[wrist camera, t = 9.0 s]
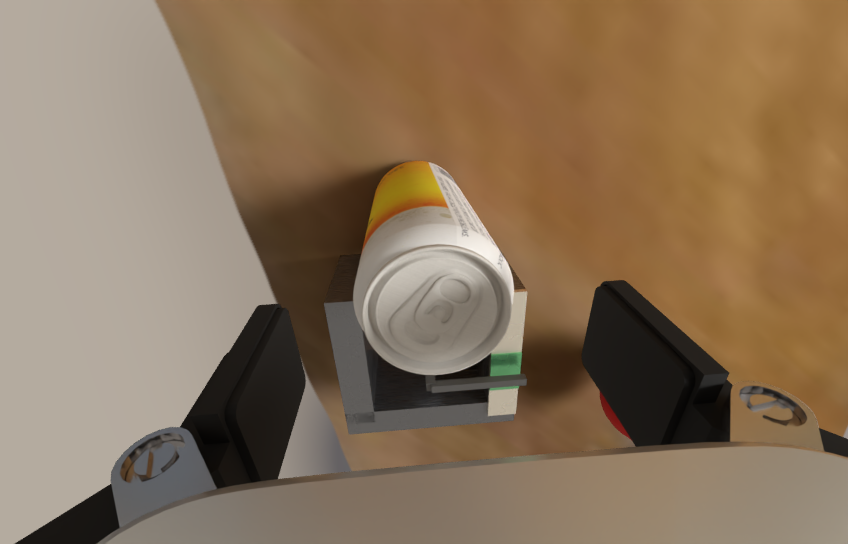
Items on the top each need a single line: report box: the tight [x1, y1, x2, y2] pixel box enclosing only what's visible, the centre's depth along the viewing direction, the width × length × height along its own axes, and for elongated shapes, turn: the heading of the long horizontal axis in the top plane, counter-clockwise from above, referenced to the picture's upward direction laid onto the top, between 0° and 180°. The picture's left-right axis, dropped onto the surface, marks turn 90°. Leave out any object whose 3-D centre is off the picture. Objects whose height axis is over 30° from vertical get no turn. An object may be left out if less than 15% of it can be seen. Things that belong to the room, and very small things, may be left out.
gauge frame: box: [324, 246, 527, 434], centre depth 27 cm, size 11×12×7 cm
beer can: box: [353, 161, 514, 375], centre depth 19 cm, size 6×6×15 cm
